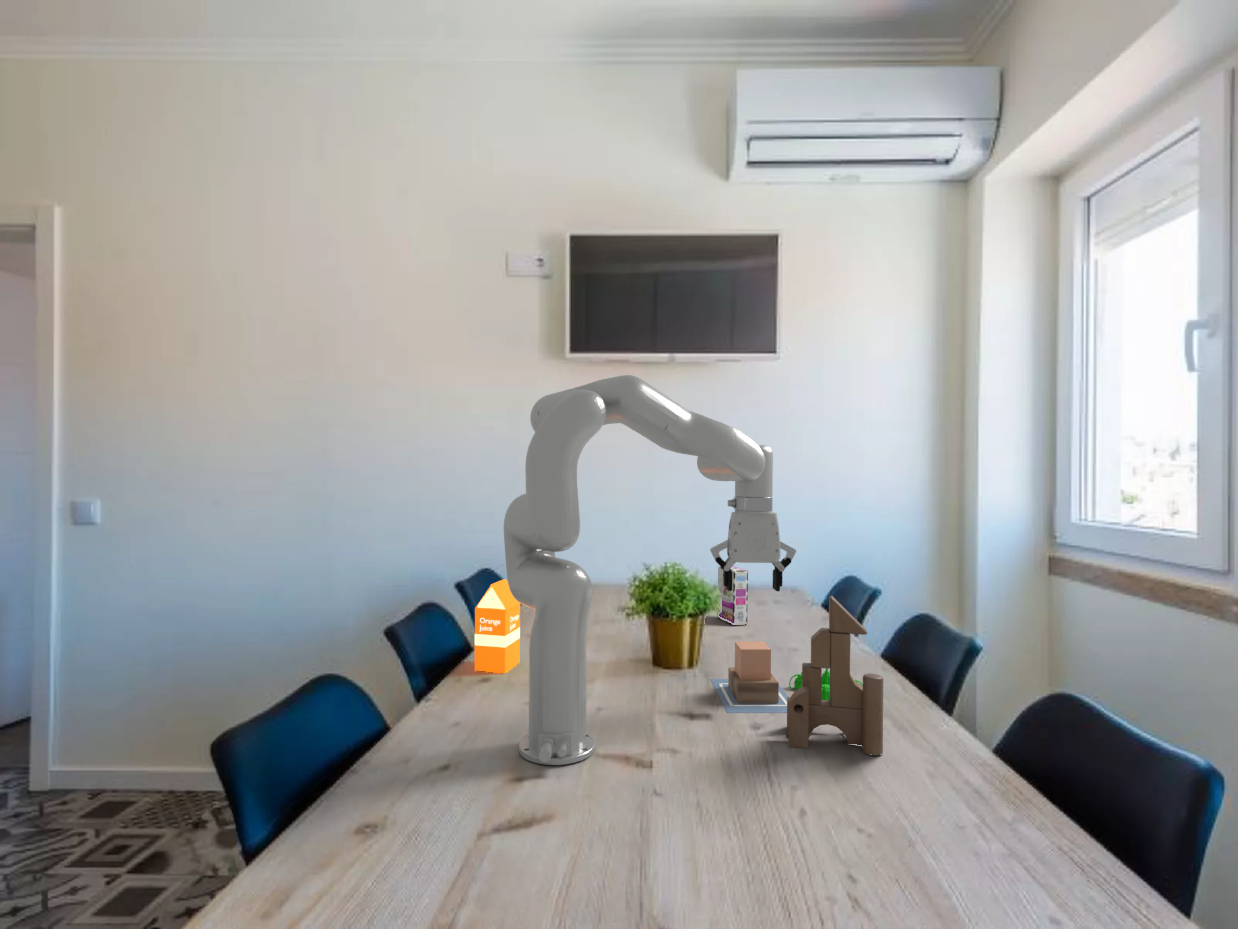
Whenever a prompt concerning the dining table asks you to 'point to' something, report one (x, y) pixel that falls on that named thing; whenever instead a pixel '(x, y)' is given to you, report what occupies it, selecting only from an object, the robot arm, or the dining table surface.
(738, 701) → the walnut base
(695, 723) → the dining table surface
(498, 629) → the orange juice
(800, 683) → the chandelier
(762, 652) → the terracotta cube
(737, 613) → the candy bar box
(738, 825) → the dining table surface
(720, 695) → the blueprint board
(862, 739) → the wooden toy
